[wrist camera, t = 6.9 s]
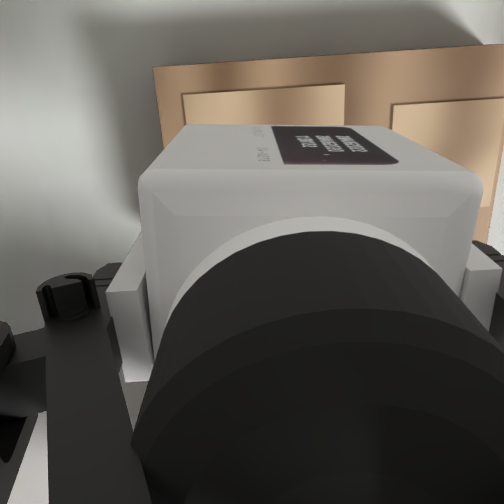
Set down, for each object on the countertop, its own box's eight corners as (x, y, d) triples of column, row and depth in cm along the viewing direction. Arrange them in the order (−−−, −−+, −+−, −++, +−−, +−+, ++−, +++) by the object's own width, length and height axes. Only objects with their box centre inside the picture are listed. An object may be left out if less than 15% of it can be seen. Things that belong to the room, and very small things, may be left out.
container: (181, 122, 16) (8, 298, 5) (388, 124, 17) (753, 299, 5) (190, 303, 20) (103, 687, 8) (365, 303, 20) (546, 683, 8)
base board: (187, 241, 33) (179, 266, 29) (164, 65, 28) (151, 67, 24) (458, 225, 32) (487, 247, 29) (483, 44, 28) (522, 43, 24)
